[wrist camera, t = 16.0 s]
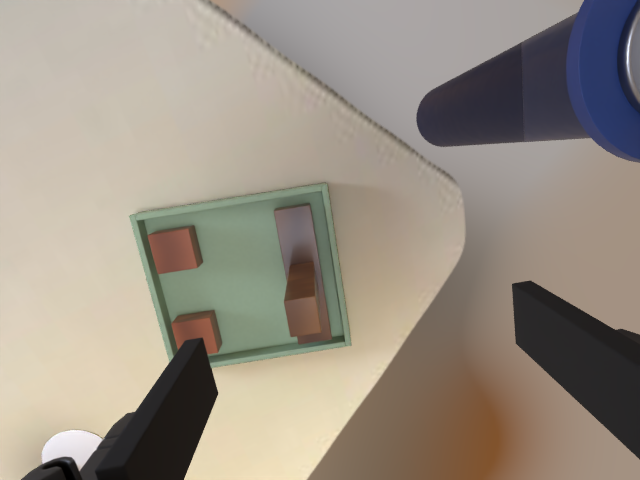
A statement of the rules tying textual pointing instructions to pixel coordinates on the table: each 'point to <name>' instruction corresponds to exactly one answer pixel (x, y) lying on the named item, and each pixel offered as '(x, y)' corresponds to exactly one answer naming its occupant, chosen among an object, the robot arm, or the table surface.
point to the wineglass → (71, 446)
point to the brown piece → (302, 275)
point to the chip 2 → (198, 329)
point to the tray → (242, 273)
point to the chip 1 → (175, 249)
